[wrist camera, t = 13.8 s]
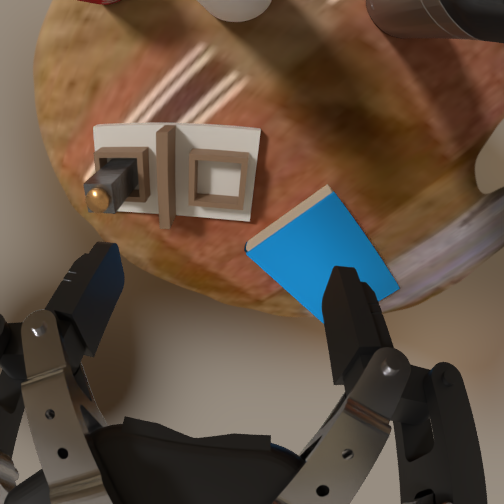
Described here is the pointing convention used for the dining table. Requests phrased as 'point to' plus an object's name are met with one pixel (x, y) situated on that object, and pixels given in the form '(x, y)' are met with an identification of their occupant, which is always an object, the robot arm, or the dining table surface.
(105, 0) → the soda can
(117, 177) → the peg
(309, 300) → the book
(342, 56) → the dining table surface
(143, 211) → the plate
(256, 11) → the alcohol
